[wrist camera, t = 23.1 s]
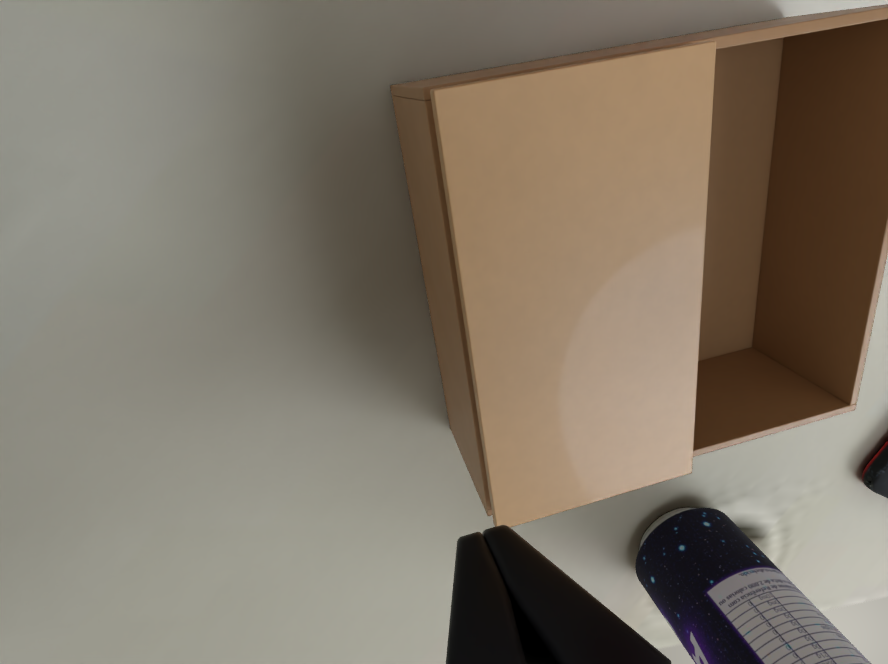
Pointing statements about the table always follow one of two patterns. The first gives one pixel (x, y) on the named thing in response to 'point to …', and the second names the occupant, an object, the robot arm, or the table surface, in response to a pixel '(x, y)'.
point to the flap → (581, 270)
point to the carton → (732, 224)
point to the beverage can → (732, 596)
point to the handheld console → (877, 472)
